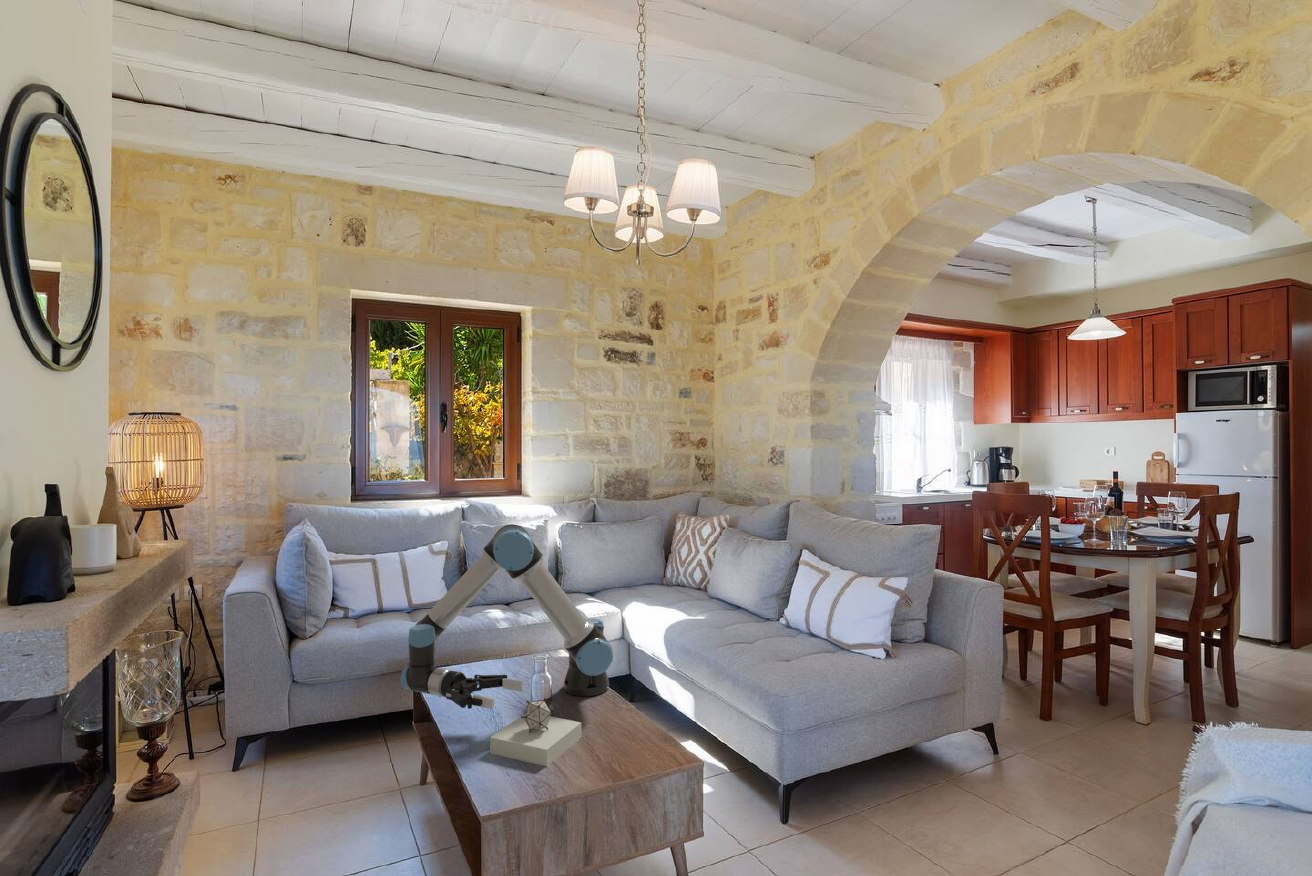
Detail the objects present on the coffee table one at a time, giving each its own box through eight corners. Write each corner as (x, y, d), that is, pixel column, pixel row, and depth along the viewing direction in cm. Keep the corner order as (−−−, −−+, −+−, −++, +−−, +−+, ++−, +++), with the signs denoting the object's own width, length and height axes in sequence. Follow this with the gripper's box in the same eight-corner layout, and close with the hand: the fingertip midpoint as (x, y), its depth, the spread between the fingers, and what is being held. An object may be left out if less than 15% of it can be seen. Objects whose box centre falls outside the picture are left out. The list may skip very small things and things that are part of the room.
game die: (542, 745, 192) (545, 725, 186) (514, 732, 194) (517, 712, 188) (556, 718, 199) (560, 697, 194) (529, 706, 201) (532, 685, 195)
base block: (528, 729, 205) (528, 712, 205) (581, 740, 198) (581, 722, 198) (490, 755, 189) (490, 737, 189) (547, 768, 182) (546, 749, 182)
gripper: (475, 682, 217) (532, 692, 209) (417, 712, 194) (480, 725, 186) (474, 658, 217) (532, 667, 209) (417, 685, 194) (480, 697, 186)
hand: (508, 694), depth 197 cm, fingers open, 13 cm apart
